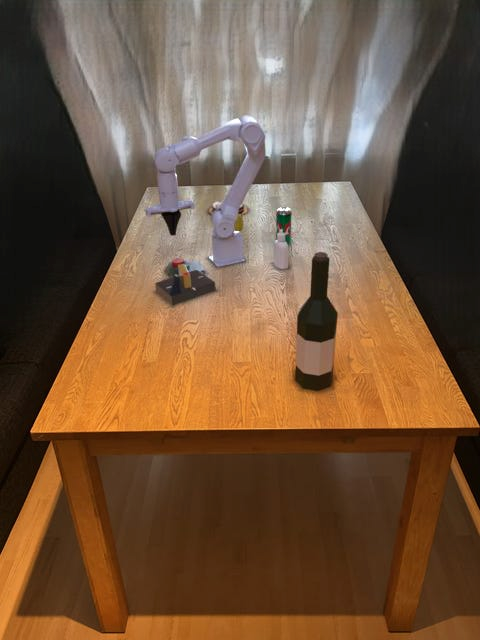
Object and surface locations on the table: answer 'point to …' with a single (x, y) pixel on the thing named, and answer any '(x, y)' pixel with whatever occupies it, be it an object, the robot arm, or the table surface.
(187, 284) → the gold rectangular bar
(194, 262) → the button box
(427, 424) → the table surface
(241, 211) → the sushi roll
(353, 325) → the table surface
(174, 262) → the button
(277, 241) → the eye dropper bottle
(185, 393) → the table surface
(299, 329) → the wine bottle
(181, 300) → the block
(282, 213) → the soda can
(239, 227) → the lemon
